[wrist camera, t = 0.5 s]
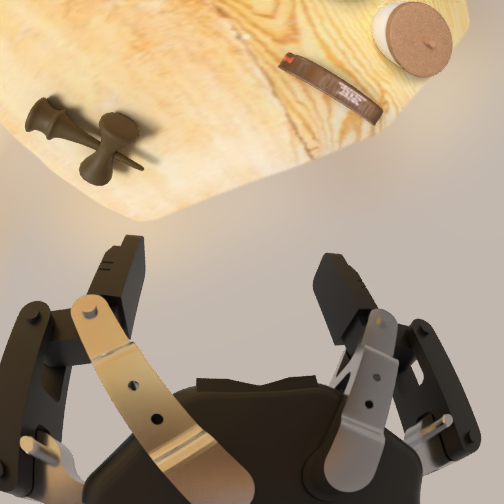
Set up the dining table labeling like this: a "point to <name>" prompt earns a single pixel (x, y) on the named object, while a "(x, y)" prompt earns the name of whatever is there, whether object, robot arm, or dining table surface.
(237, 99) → the dining table surface
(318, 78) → the tin
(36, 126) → the kendama
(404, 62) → the lidded jar
